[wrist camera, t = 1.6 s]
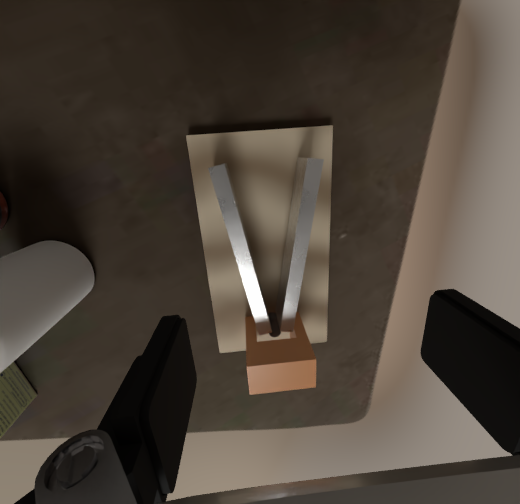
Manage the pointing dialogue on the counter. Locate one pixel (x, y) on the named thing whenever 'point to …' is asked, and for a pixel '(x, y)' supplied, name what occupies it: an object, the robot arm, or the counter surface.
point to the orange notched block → (279, 360)
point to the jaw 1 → (240, 245)
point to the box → (13, 396)
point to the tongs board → (262, 224)
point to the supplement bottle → (3, 211)
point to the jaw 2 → (297, 239)
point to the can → (38, 293)
